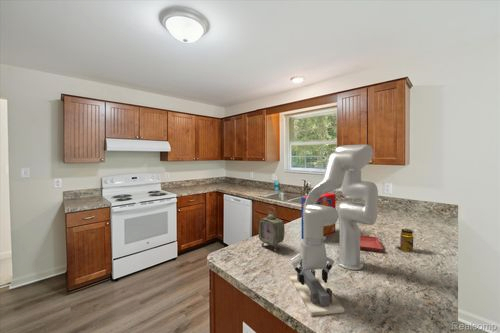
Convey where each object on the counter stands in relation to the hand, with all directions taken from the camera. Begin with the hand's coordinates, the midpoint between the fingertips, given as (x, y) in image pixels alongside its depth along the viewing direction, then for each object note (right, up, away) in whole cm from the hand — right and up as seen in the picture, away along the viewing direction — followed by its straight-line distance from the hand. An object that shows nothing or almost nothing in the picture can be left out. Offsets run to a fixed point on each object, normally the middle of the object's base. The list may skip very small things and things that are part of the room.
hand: (313, 282), depth 85 cm
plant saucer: (+44, -3, +46) cm, 64 cm away
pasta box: (+23, -2, +63) cm, 67 cm away
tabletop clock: (-12, -3, +44) cm, 46 cm away
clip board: (0, -4, 0) cm, 4 cm away
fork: (+4, -4, +35) cm, 35 cm away
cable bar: (0, -3, 0) cm, 3 cm away
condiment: (+64, -2, +38) cm, 75 cm away
